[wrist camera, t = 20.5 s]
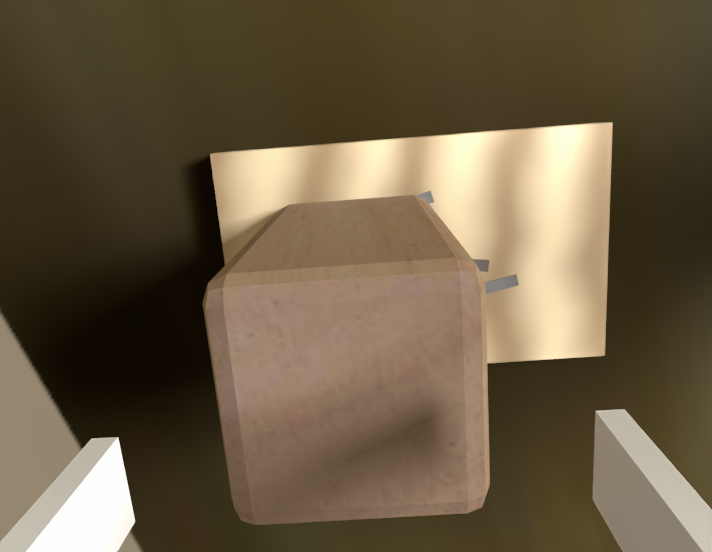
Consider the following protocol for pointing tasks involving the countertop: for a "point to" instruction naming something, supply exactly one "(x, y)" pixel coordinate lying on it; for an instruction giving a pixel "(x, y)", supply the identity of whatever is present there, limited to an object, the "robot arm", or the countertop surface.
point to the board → (467, 217)
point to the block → (351, 365)
